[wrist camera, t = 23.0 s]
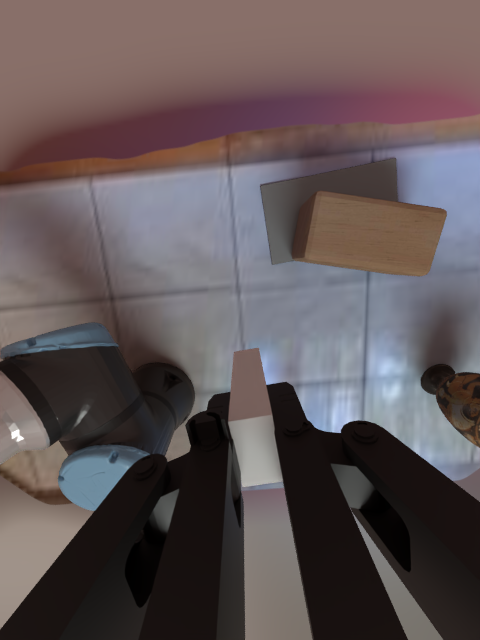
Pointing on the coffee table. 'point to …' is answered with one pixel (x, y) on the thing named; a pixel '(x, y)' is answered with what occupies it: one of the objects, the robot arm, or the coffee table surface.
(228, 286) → the coffee table surface
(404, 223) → the block
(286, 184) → the mat
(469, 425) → the vase
